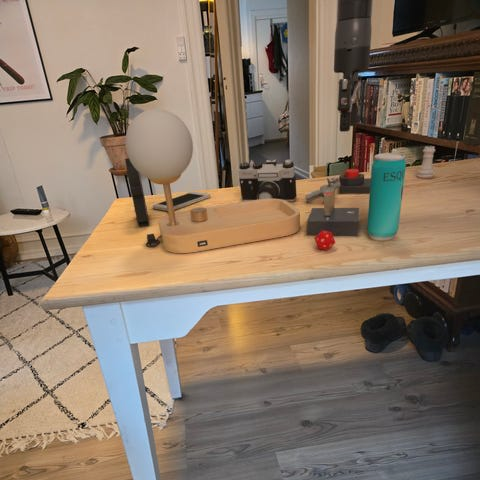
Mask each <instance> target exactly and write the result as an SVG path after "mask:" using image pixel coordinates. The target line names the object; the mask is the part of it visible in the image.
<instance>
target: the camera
mask: <svg viewBox="0 0 480 480" xmlns="http://www.w3.org/2000/svg"><path fill="white" fill-rule="evenodd" d="M295 171H296V170H295V163H294V162H293V161H292V160H291V159H285V160H284V162H283V163H277V159H272V160H271V159H267V160H266V161H265V164H264V163H262V162H261V161H257V162H254V161H253V159H251V160H250V162H242V163H239V167H238V169H237V172H238V180H239V188H240V194H241V202H245V201H252V200H258V199H282V200H285V201H287V202H294V201H295V200H296V199H297V178H296V177H297V175H296V173H295Z"/></svg>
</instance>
